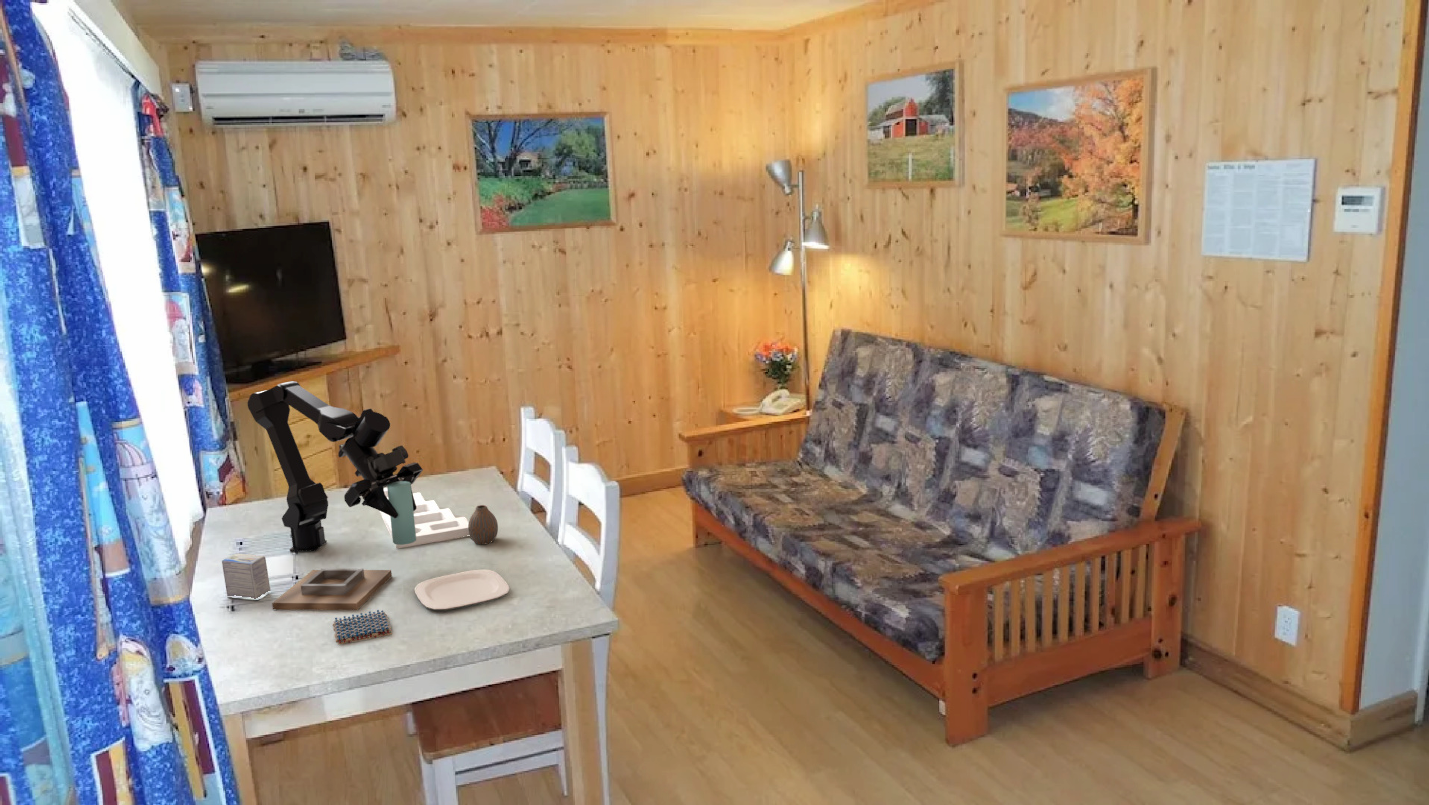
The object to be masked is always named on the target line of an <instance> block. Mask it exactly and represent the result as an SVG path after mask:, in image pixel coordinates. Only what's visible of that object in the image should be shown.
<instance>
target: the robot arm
mask: <svg viewBox="0 0 1429 805" xmlns="http://www.w3.org/2000/svg"><path fill="white" fill-rule="evenodd" d="M290 407H292V409H293V410H296V411H298V412H299V413H300V414H302V415H303V416H305V417H306V418H308V419H310V421H312V422H314V423H315V424H316V425H317V427H318V432H319V433H320V434H321V435H322V436H324V437H325V438H326V439H327V441H329V442H332V443H336V442H339V441H343V440H345V442H344V443H341V444H339V445H338V447H339V450H338V452H337V453H338V458H342V457H347V458H348V460H349V461H350V462H351V464H352V466H354V468H355V469H356V471H355V472H354V474H355V476H356V477H360V476H361V478H363V479H361V480H359V481H356V482H353V483H352V484H351V485H350V487H349V488H348V490H347V491H346V492H345V494H344V497H343V498H344V502H345V504H346V505H347V506H348V508H352V507H354V506H357V505H360V503H361V502H362V503H361V505H362V506H363V507H364V506H367V507H371V508H373V509H375V510H377V511H379V512H380V511H381V512H383V513H385V514H387V515H389V516H391V517H393V518H397V517H398V513H397V512H396V510H395V508H394V507H393V506H392V504H391V503H390V501H389V500H388V499H387V497H386V496H385V494H384V488H387V485H388V484H390V483H393V482H399V481H407V482H410V483H411V485H413V484H414V483H415V482H416V481H417V479H418V477H419V476H420V475H421V474H422V472H423V471H424V469H423V467H422V466H421V465H420V464H419V463H418V462H410V463H407V464H405V463H406V459H408V458H409V453H408V451H407V449H406V448H405V447H404V446H403V445H399V446H398V445H397V446H396V447H394V448H392V451H391V452H388V453H384V452H378V451H377V450H376V449H375V447H376V446H378V445H379V444H380V443H381V441H382V440H383V438H384V437H385V435H386V434H387V433H388V431H389V430H390V428H391V423H390V420H389V418H388V417H387V416H385V415H384V414H382V413H380V412H376V411H373V409H372V408H367V409H364V410H362V412H361V413H360V416H357V414H356V413H355V412H354V411H353V412H352V411H351V410H348V409H346V408H343V407H335V406H331V405H330V404H329V403H326V402H325V401H323V400H322V399H320V398H319V397H317V396H315V395H314V394H312V392H309V391H308V390H307V389H305V388H303V387H302V386H301V384H300V383H299V382H297V381H293V380H292V381H287V382H282V383H278V384H276V385H275V386H273V387H271V388H269V389H267V390H263V391H257V392H253V393H251V394H250V395H249V398H248V400H247V409H248V410H249V412H250V414H251V415H252V417H253V420H254V421H255V423H257V424H258V425H259V426H261V427H262V428H263V429H264V430H266V432H267V435H268V437H269V440H270V442H271V444H272V447H273V449H274V453H275V456H276V458H277V460H278V462H279V464H280V467H281V471H282V473H283V475H284V477H285V481H286V483H287V485H288V486H287V487H288V490H287V495H286V504H287V507H288V508H287V509H286V511H285V512H284V514H283V515H282V517H281V520H282V523H283V524H282V525H283V526H284V527H286V528H289V529H290V536H291V544H292V546H291V547H290V548H289V552H316V551H318V550H319V549H320V548H321V547H323V546H324V545H325V544H327V543H328V541H327V540H326V535H325V530H324V529H325V528H324V526H323V525H322V520H326V519H327V515H328V508H329V500H328V498H329V496H328V495H327V494H326V491H325V488H324V485H323V484H322V483H321V482H317V483H316V482H315V481H314V480H313V479H311V477H310V475H309V472H308V471H307V470H308V469H307V467H306V465H305V463H304V460H303V458H302V455H301V452H300V449H299V448H298V445H297V443H296V439H295V437H294V435H293V432H292V430H291V427H290V425H289V417H290V413H291V408H290ZM402 464H404V465H402ZM400 465H402V466H401V468H400V469H399V470H398V466H400ZM397 470H398V472H397ZM395 472H397V473H395ZM394 473H395V474H394ZM411 491H412V501H413V511H415V510H416V508H417V507H416V504H415V500H414V497H413V490H412V488H411ZM362 499H363V501H362Z"/></svg>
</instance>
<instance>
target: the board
mask: <svg viewBox="0 0 1429 805" xmlns="http://www.w3.org/2000/svg"><path fill="white" fill-rule="evenodd" d="M392 574H393V573H392V569H364V568H320V569H312V570H311V571H310V572H309V573H307V574H305V575H304V576H303V577H302V578H300V580H299V581H297V582H296V583H295V584H293V585H292V586H291V587H290V588H289V589H287V590H286V591H285V592H283V594H281V595H280V596H279V597H277V598H276V599H274V601H272V602H271V605H272V610H273V609H276V610H275V611H279V610H280V611H281V610H282V611H284V610H285V611H358V610H359V609H360V608H361V607H363V605H364V604H365V603H367V601H368V600H370V599H371V598H372V597H373V596H374V594H376V593H377V591H379V590H380V589H381V588H382V587H383V586H384V585H385V584H386V583H387V582H388V581H389V580H390V579H391V578H392Z"/></svg>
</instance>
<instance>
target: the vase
mask: <svg viewBox="0 0 1429 805" xmlns="http://www.w3.org/2000/svg"><path fill="white" fill-rule="evenodd" d="M468 522H469V524H468V530H469V534H470V536H469V537H470V538H471V540H472V541H473V542H474V543H475V544H477V543H478V544H477V545H486V544H485V543H488V544H490V543H489V542H491V541H492V542H494V540H495V539H496V538H497V536H498V533H499V532H498V531H499V524H498V521H497V518H496V516H495V514H494V513H492V511H491V510H490V509H489V508H488V506H487V505H484V504H481V505H477V506H476V507H475V510H474V512H473V513H472V514H471V516H470V518H469V520H468ZM492 542H491V543H492Z"/></svg>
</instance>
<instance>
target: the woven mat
mask: <svg viewBox="0 0 1429 805" xmlns="http://www.w3.org/2000/svg"><path fill="white" fill-rule="evenodd" d="M387 616H388V614H387V613H386V611H385V610H381V611H380V610H379V609H376V611H373V612H371V610H370V611H368V613H364V614H363V612H360V615H359V614H356V616H355V614H352V615H351V616H346V615H344V616H343V619H342V618H341V617H339V619H338V618H337V617H334V621H333V623H332V627H334V628H333V631H334V636H333V637H334V638H335V640H334V641H335V642H336V643H337V645H344V644H350V643H354V642H355V643H356V642H359V641H364V640H370V639H374V638H375V639H376V638H379V637H384V636H390V635H392V634H393V633H392V629H391V628H392V627H391V625H390V621H389V618H388V617H387Z"/></svg>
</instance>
